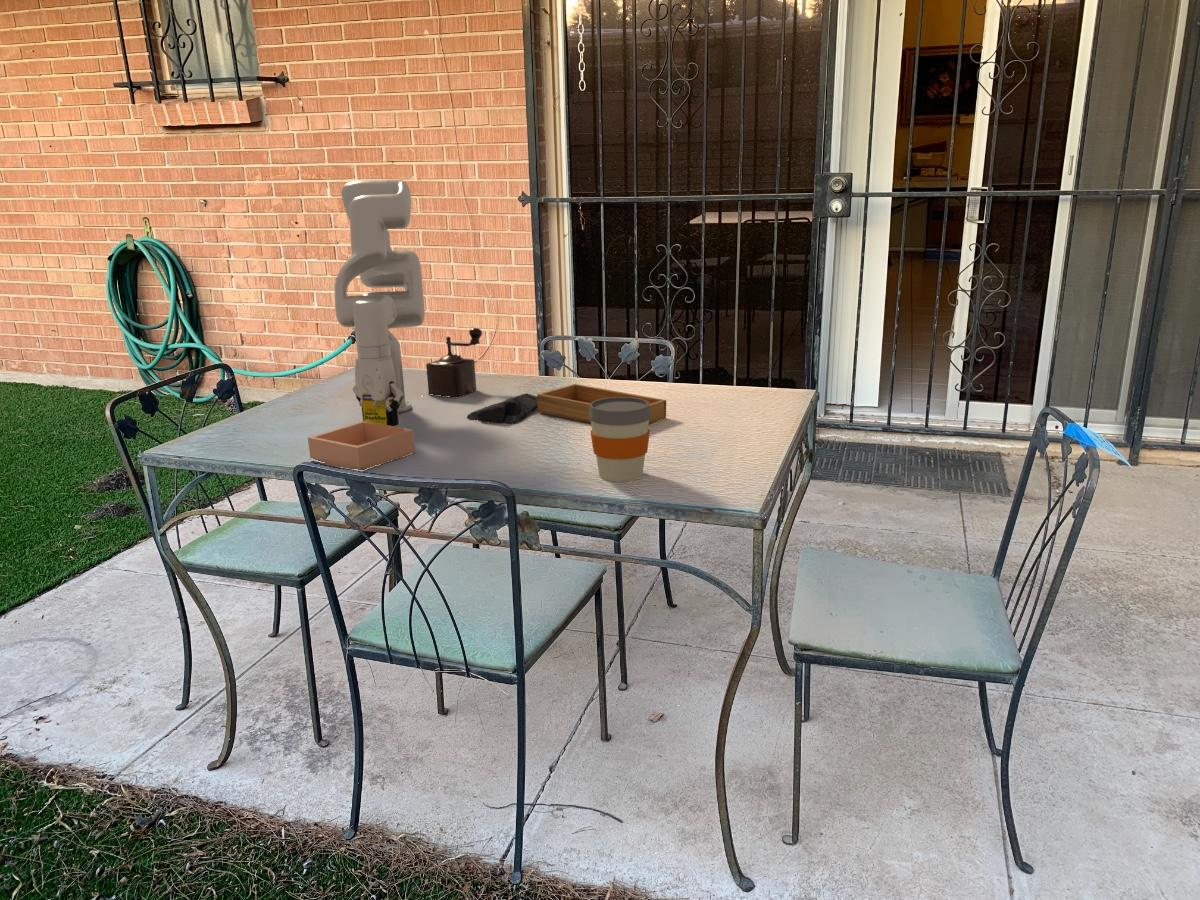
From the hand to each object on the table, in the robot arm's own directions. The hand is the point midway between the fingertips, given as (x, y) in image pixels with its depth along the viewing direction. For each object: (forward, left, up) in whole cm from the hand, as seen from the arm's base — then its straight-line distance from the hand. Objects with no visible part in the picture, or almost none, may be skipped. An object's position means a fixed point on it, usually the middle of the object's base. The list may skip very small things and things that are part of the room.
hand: (380, 423), depth 212 cm
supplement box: (0, 0, -3) cm, 3 cm away
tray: (+37, +41, -4) cm, 55 cm away
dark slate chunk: (+13, +32, -4) cm, 35 cm away
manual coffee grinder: (-16, +45, -3) cm, 48 cm away
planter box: (+10, -15, -3) cm, 18 cm away
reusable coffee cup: (+67, +3, -3) cm, 67 cm away
